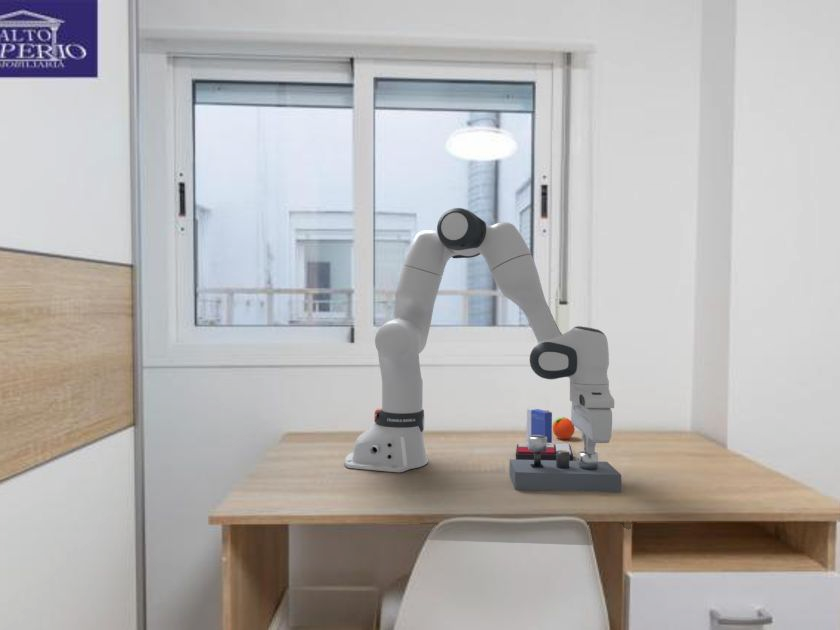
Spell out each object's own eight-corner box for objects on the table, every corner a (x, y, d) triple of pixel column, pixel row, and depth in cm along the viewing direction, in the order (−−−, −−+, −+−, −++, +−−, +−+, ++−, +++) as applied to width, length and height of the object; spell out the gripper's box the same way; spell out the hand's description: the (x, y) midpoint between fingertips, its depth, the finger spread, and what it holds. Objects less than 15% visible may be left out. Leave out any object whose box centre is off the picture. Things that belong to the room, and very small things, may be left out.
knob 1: (529, 468, 114) (530, 438, 114) (526, 462, 119) (526, 433, 119) (548, 468, 114) (548, 438, 114) (544, 463, 118) (545, 434, 118)
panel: (515, 489, 112) (515, 472, 112) (509, 475, 122) (509, 459, 122) (621, 492, 110) (621, 474, 110) (606, 477, 120) (606, 461, 120)
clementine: (559, 442, 154) (559, 420, 154) (545, 437, 160) (545, 416, 160) (579, 440, 157) (579, 418, 157) (564, 435, 163) (564, 414, 163)
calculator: (517, 441, 143) (570, 441, 139) (517, 455, 143) (570, 456, 139) (515, 451, 132) (573, 452, 128) (516, 467, 132) (573, 468, 128)
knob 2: (581, 485, 114) (581, 455, 114) (576, 478, 118) (576, 449, 118) (600, 485, 113) (600, 455, 113) (594, 479, 118) (594, 450, 118)
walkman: (551, 451, 143) (552, 411, 144) (545, 452, 142) (545, 412, 142) (532, 445, 150) (533, 406, 150) (526, 446, 149) (526, 407, 149)
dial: (557, 468, 115) (557, 453, 115) (555, 464, 118) (555, 449, 118) (570, 468, 114) (570, 453, 114) (567, 464, 118) (567, 449, 118)
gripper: (565, 388, 126) (565, 441, 126) (587, 401, 106) (587, 465, 106) (589, 388, 126) (589, 441, 126) (617, 402, 106) (617, 465, 106)
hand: (589, 452), depth 116 cm, fingers closed, pressing on knob 2
